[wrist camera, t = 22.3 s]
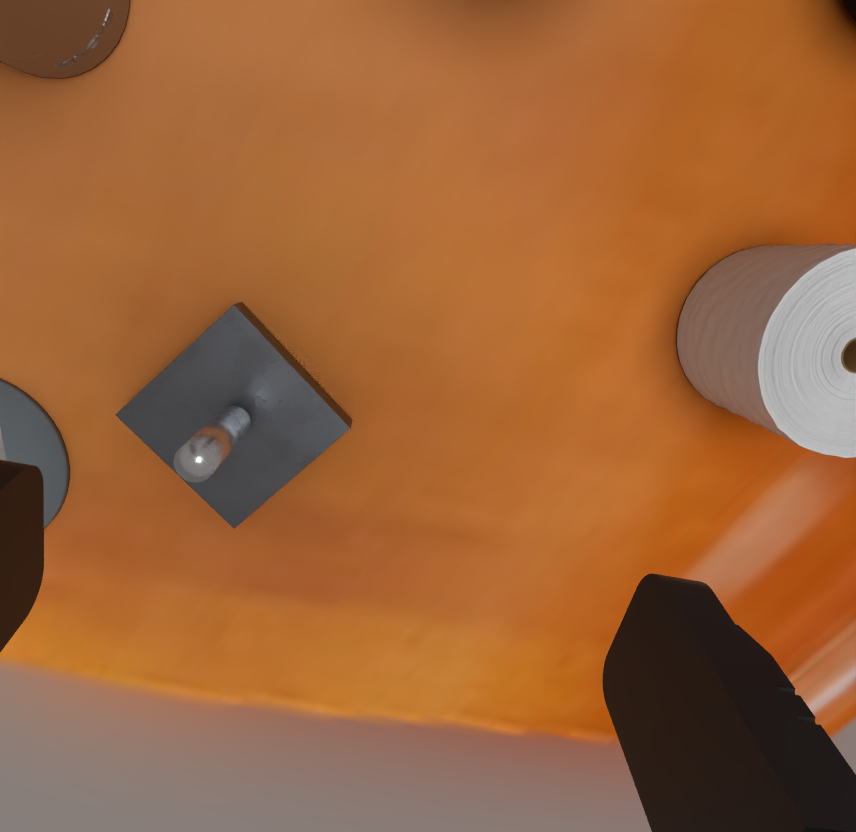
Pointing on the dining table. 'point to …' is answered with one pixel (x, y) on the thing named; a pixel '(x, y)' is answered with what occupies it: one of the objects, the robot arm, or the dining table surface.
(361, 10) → the dining table surface
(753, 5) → the dining table surface
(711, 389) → the toilet tissue
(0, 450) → the sleeve
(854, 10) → the mug
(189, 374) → the post stand
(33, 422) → the mat
